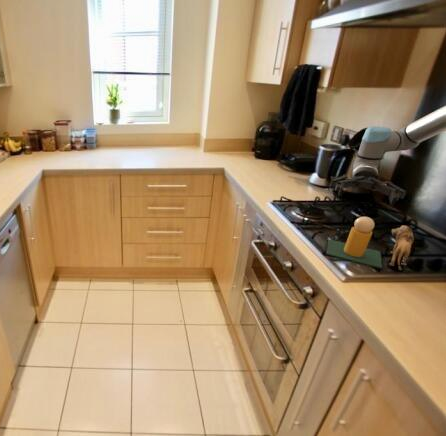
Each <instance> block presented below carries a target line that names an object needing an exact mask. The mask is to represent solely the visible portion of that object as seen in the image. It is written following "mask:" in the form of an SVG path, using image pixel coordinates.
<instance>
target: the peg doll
mask: <svg viewBox="0 0 446 436" xmlns="http://www.w3.org/2000/svg"><path fill="white" fill-rule="evenodd" d="M353 224H354V226H352V227H351V229H350V231H349V234H348V237H347V239H346V242H345V243H346V245H345V247H344V252H345V253H347V254H349V255H351V256H355V257H362V256H363V255H364V253H365V250H366V248H368V245H369V243H370V241H371V238H372V235H373V230H374V228H375V224H376V223H375V221H374V219H372V218H371V217H369V216H360V217H358V218H357V219H355V220H354V223H353Z"/></svg>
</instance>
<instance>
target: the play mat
mask: <svg viewBox="0 0 446 436" xmlns="http://www.w3.org/2000/svg"><path fill="white" fill-rule="evenodd" d="M345 245H346V242H343V241H338V240H334V239H328V241H327V248H326V253H325V254H326V256H330V257H333V258H338V259H341V260H346V261H350V262H353V263H357V264H361V265H365V266H369V267H372V268H377V269H380V270H382V269H383V263H382V254H381V253H382V251H380V250H377V249H372V248H368V247H367V248H366V250H365V253H364V255H363V256H362V257H355V256H351V255H349V254H347V253H345V252H344V247H345Z"/></svg>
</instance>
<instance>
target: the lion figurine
mask: <svg viewBox="0 0 446 436" xmlns="http://www.w3.org/2000/svg"><path fill="white" fill-rule="evenodd" d="M391 233H392V236H395V244H394V245H393V250H392V251H390V253H391V254H392V258H391V262H389V264H388V265H389V266H391V267H394V266H395V263H396V259H397V268H398V270H399V271H402V270H403V269H402V266H407V263H406V261H407V260H408V258H409V256H410V253H411V248H412V245H413V243H414V241H415V238H414V233H413V229H412V228H410V227H409V226H408V225H401V226H400V227H397V228H392V229H391ZM402 262H403V263H402ZM398 265H399V266H398ZM401 265H402V266H401Z"/></svg>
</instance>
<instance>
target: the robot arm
mask: <svg viewBox="0 0 446 436" xmlns="http://www.w3.org/2000/svg"><path fill="white" fill-rule="evenodd" d="M444 132H446V105H444V106H442V107H440V108H438V109H436V110H434V111H433V112H431V113H428V114H427V115H425V116H423V117H421V118H419V119H417V120H415V121H413V122H412V123H409V124H407V125H406V126H404V127H402V128H400V129H398V130H392V129H391V128H389V127H386V126H377V125H376V126H375V125H373V126H368V127H367V128H366V129H365V132H364V134H363V136H362V138H361V142H360V145H359V149H358V151H357V155H356V157H355V160H354V162H353V163H352V166H351V172H352V177H349V176H348V174H343V175H342V176H338V177H335V178H333V179H331V181H330V183H329V188H334V191H335V192H338V195H337V196H338V197H340V198H341V197H342V195H343V192H344V189H348V188H353V189H354V188H357V189H359V190H371V191H374V192H379V193H381V194H383V195H385V196H388V201H389V206H392V207H394V206H395V205H396V204H395V203H396V201H399V199H400V200H403V199H404V198H405V196H406V193H407V191H406V190H404V189H403V188H402V187H400V186H398V185H396V184H395V183H393V182H392V181H391V180H385V182H384V181H381V180H380V176H379V172H378V169H379V165H380V163H381V160H382V157H383V156H384V153H389V152H400V151H408V150H412V149H415V148H417V147H418V146H419V145H420V144H421V143H422V142H424V141H426V140H428V139H431V138H433V137H436V136H437V135H439V134H441V133H442V134H443V133H444Z"/></svg>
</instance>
